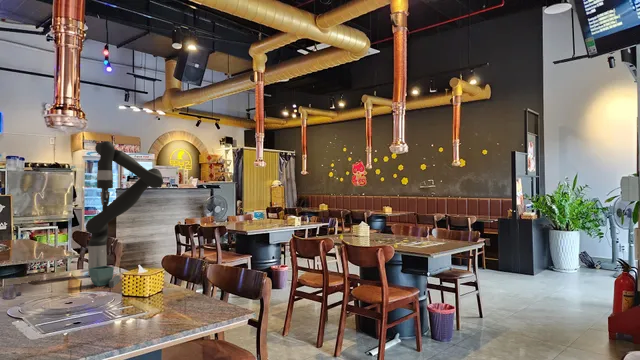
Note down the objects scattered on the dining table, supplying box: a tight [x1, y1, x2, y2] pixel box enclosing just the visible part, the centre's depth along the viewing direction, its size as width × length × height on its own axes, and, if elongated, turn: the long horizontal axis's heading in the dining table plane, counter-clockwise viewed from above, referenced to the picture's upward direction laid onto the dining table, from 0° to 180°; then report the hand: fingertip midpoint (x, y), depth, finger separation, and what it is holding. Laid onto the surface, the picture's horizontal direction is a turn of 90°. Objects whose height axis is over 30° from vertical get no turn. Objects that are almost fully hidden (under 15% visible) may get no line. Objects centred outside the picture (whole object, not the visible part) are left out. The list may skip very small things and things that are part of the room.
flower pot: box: [89, 265, 115, 287], centre depth 211 cm, size 9×9×9 cm
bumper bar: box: [108, 274, 121, 288], centre depth 212 cm, size 2×16×3 cm, turn 16°
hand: (104, 212), depth 217 cm, fingers closed
